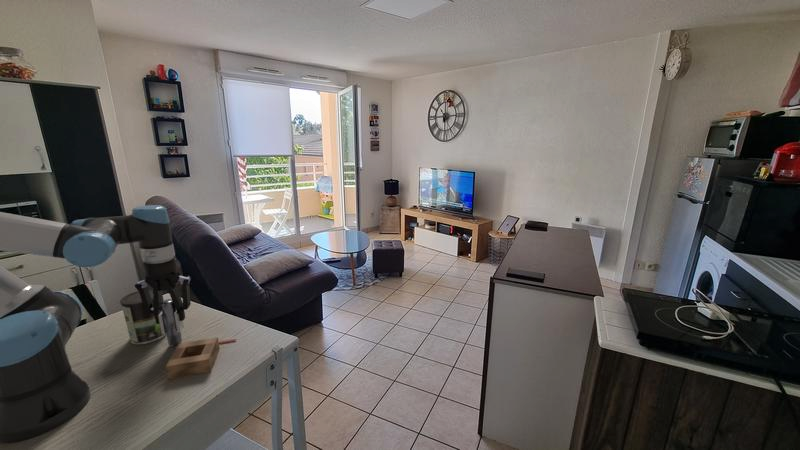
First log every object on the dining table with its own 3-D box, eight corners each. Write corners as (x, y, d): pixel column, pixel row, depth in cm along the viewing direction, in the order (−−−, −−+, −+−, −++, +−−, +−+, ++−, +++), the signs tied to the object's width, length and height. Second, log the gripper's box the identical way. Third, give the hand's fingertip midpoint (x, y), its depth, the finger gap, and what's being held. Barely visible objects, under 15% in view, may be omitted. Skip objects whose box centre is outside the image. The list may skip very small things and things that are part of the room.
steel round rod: (166, 346, 93) (158, 305, 89) (170, 339, 96) (163, 299, 92) (179, 344, 94) (171, 303, 90) (183, 338, 97) (176, 298, 93)
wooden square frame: (168, 379, 82) (165, 366, 81) (181, 354, 91) (179, 343, 90) (210, 371, 85) (208, 359, 83) (219, 348, 94) (217, 337, 93)
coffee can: (177, 325, 105) (170, 288, 101) (153, 345, 95) (144, 304, 91) (148, 325, 105) (139, 287, 101) (121, 344, 95) (110, 303, 91)
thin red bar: (184, 349, 93) (184, 348, 93) (185, 347, 94) (185, 346, 94) (235, 341, 97) (235, 340, 97) (236, 339, 98) (236, 338, 98)
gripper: (117, 266, 82) (134, 342, 88) (188, 261, 87) (199, 333, 93) (131, 257, 89) (146, 328, 95) (196, 252, 94) (206, 320, 100)
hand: (172, 330), depth 94 cm, fingers closed on steel round rod, 3 cm apart
